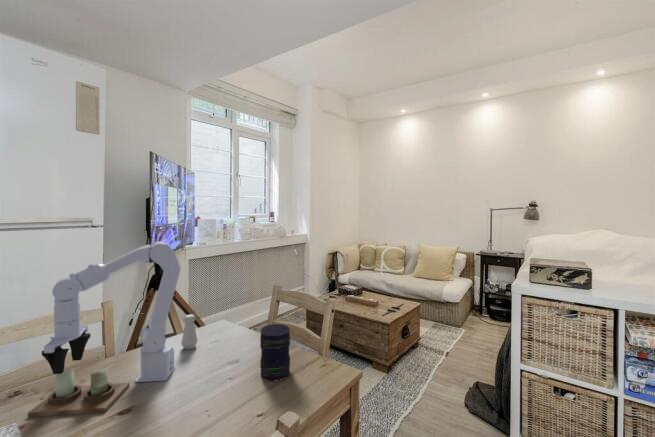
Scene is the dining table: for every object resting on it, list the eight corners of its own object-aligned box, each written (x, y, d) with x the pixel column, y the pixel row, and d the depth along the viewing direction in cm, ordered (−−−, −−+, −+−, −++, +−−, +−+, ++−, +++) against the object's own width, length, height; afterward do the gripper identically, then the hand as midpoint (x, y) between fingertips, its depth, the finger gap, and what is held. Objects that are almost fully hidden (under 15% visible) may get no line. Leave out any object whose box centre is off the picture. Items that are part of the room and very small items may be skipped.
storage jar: (263, 384, 96) (263, 337, 95) (257, 369, 105) (257, 326, 104) (293, 377, 100) (294, 332, 99) (285, 363, 109) (285, 322, 108)
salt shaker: (191, 351, 117) (191, 318, 117) (178, 350, 119) (177, 317, 118) (200, 345, 123) (200, 313, 123) (187, 344, 124) (187, 312, 124)
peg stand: (129, 386, 94) (129, 360, 94) (105, 412, 82) (105, 382, 82) (62, 390, 92) (61, 363, 92) (27, 417, 80) (27, 386, 80)
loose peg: (77, 393, 89) (77, 369, 88) (67, 401, 85) (67, 376, 84) (63, 393, 88) (62, 369, 88) (51, 402, 84) (51, 377, 84)
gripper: (70, 312, 94) (70, 355, 94) (30, 330, 80) (31, 381, 80) (94, 311, 95) (95, 354, 95) (60, 329, 81) (61, 379, 81)
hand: (68, 366), depth 88 cm, fingers open, 7 cm apart
